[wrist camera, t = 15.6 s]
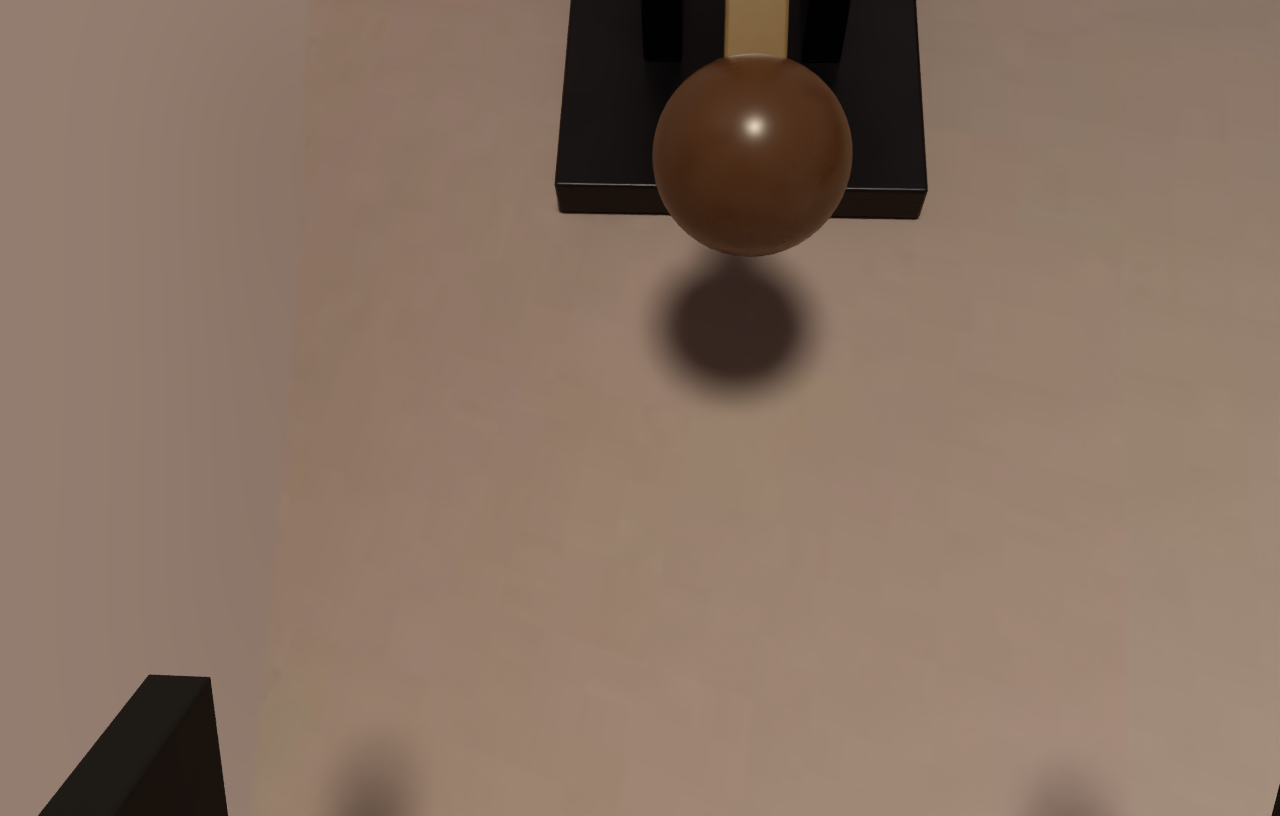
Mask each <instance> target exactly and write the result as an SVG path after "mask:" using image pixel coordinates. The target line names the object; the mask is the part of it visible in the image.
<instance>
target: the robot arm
mask: <svg viewBox="0 0 1280 816" xmlns="http://www.w3.org/2000/svg"><path fill="white" fill-rule="evenodd" d="M38 816H228V812H227V804H226V796H225V789H224V781H223V773H222V765H221V757H220V750H219V743H218V735H217V727H216V718H215V711H214V704H213V695H212V688H211V679H210V677H194V676H170V675H148V677H147V678H146V679H145V680H144V682H143V683H142V684H141V685H140V687H139V688H138V689H137V691H136V692H135V693H134V694H133V696H132V697H131V698H130V699H129V701H128V702H127V703H126V705H125V706H124V707H123V709H122V710H121V711H120V712H119V713H118V715H117V716H116V717H115V719H114V720H113V721H112V722H111V724H110V725H109V726H108V727H107V729H106V730H105V731H104V733H103V734H102V735H101V736H100V738H99V739H98V740H97V741H96V743H95V744H94V745H93V746H92V748H91V749H90V750H89V752H88V753H87V754H86V755H85V757H84V758H83V759H82V760H81V762H80V763H79V764H78V766H77V767H76V768H75V769H74V771H73V772H72V773H71V774H70V776H69V777H68V778H67V780H66V781H65V782H64V783H63V785H62V786H61V787H60V788H59V790H58V791H57V792H56V794H55V795H54V796H53V797H52V799H51V800H50V801H49V802H48V804H47V805H46V806H45V808H44V809H43V810H42V811H41V813H40V814H39V815H38ZM1272 816H1280V785H1279V789H1278V793H1277V797H1276V801H1275V805H1274V809H1273V812H1272Z"/></svg>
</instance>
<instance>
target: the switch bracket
mask: <svg viewBox="0 0 1280 816" xmlns="http://www.w3.org/2000/svg"><path fill="white" fill-rule="evenodd" d="M724 25H725V0H571V3H570V15H569V26H568V37H567V49H566V60H565V72H564V83H563V94H562V106H561V117H560V128H559V140H558V151H557V163H556V174H555V189H556V195H557V200H558V206H559V209H560V210H561V211H581V212H637V213H669V212H668V210H667V209H666V207H665V206H664V204H663V201H662V199H661V197H660V195H659V192H658V189H657V186H656V183H655V178H654V173H653V163H652V150H653V140H654V136H655V131H656V127H657V124H658V121H659V119H660V116H661V113H662V112H663V110H664V108H665V106H666V104H667V102H668V100H669V99H670V98H671V96H672V95H673V93H674V92H675V91H676V89H677V88H678V87H679V86H680V85H681V84H682V83H683V82H684V81H685V80H686V79H687V78H688V77H689V76H690V75H692V74H693V73H694V72H696V71H697V70H699V69H700V68H702V67H703V66H705V65H707V64H709V63H711V62H713V61H715V60H717V59H720V58H723V57H724ZM787 58H788V59H791V60H794V61H796V62H798V63H799V64H801V65H803V66H805V67H807V68H808V69H809V70H811V71H812V72H814V73H815V74H816V75H818V76H819V77H820V78H821V79H822V80H823V81H824V82H825V83H826V84H827V85H828V87H829V88H830V89H831V90H832V92H833V93H834V94H835V96H836V97H837V99H838V101H839V102H840V104H841V106H842V108H843V110H844V113H845V115H846V117H847V120H848V124H849V127H850V131H851V138H852V151H853V158H852V167H851V173H850V177H849V181H848V185H847V187H846V190H845V192H844V195H843V197H842V199H841V201H840V203H839V205H838V206H837V208H836V209H835V211H834V212H833V214H832V215H831V216H863V217H918V216H919V215H920V212H921V210H922V207H923V204H924V201H925V198H926V195H927V192H928V185H927V169H926V153H925V136H924V120H923V104H922V88H921V72H920V56H919V40H918V24H917V7H916V0H789V20H788V48H787Z"/></svg>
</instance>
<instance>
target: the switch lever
mask: <svg viewBox="0 0 1280 816" xmlns="http://www.w3.org/2000/svg"><path fill="white" fill-rule="evenodd" d="M788 20H789V0H725V25H724V57H723V58H720V59H717V60H715V61H713V62H711V63H709V64H707V65H705V66H703V67H702V68H700V69H699V70H697V71H696V72H694V73H693V74H692V75H690V76H689V77H688V78H687V79H686V80H685V81H684V82H683V83H682V84H681V85H680V86H679V87H678V88H677V89H676V91H675V92H674V93H673V95H672V96H671V98H670V99H669V100H668V102H667V104H666V106H665V108H664V110H663V112H662V113H661V116H660V119H659V121H658V124H657V127H656V131H655V136H654V140H653V150H652V163H653V173H654V178H655V183H656V186H657V189H658V192H659V195H660V197H661V199H662V201H663V204H664V206H665V207H666V209H667V210H668V212H669V214H670V215H671V217H672V218H673V219H674V220H675V221H676V223H677V224H678V225H679V226H680V227H681V228H682V229H683V230H684V231H685V232H686V233H687V234H688V235H690V236H691V237H692V238H694V239H695V240H697V241H698V242H700V243H702V244H703V245H705V246H707V247H709V248H711V249H714V250H717V251H719V252H722V253H726V254H731V255H735V256H746V257H752V256H764V255H770V254H775V253H778V252H781V251H784V250H787V249H789V248H791V247H794V246H796V245H798V244H800V243H801V242H803V241H804V240H806V239H807V238H809V237H810V236H811V235H813V234H814V233H815V232H816V231H817V230H819V229H820V228H821V227H822V226H823V224H824V223H825V222H826V221H827V220H828V219H829V218H830V216H831V215H832V214H833V212H834V211H835V209H836V208H837V206H838V205H839V203H840V201H841V199H842V197H843V195H844V192H845V190H846V187H847V185H848V181H849V177H850V173H851V167H852V158H853V151H852V138H851V131H850V127H849V124H848V120H847V117H846V115H845V113H844V110H843V108H842V106H841V104H840V102H839V101H838V99H837V97H836V96H835V94H834V93H833V92H832V90H831V89H830V88H829V87H828V85H827V84H826V83H825V82H824V81H823V80H822V79H821V78H820V77H819V76H818V75H816V74H815V73H814V72H812V71H811V70H809V69H808V68H807V67H805V66H803V65H801V64H799V63H798V62H796V61H794V60H791V59H788V58H787V48H788Z"/></svg>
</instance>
